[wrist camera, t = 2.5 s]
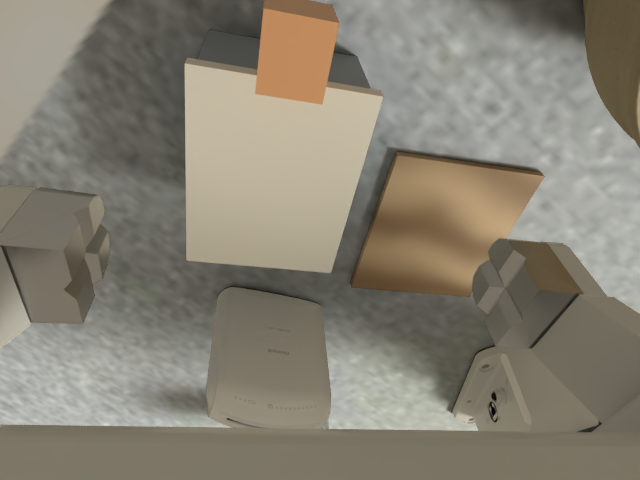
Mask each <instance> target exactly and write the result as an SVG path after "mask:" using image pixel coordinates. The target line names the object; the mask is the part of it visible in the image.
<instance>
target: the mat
mask: <svg viewBox="0 0 640 480" xmlns="http://www.w3.org/2000/svg"><path fill="white" fill-rule="evenodd" d="M544 177H545V176H544V175H543V174H542V173H541V172H536V171H529V170H522V169H516V168H509V167H502V166H495V165H488V164H481V163H474V162H467V161H460V160H453V159H446V158H439V157H432V156H425V155H418V154H411V153H404V152H397V151H396V153H395V156H394V159H393V162H392V165H391V167H390V170H389V173H388V176H387V179H386V182H385V185H384V188H383V191H382V193H381V196H380V199H379V202H378V205H377V208H376V211H375V214H374V216H373V219H372V222H371V225H370V228H369V231H368V234H367V237H366V240H365V242H364V245H363V248H362V251H361V254H360V257H359V260H358V263H357V265H356V268H355V271H354V274H353V277H352V280H351V287H354V288H366V289H379V290H391V291H404V292H416V293H429V294H441V295H453V296H466V297H470V295H471V293H472V281H473V276H474V274H475V272H476V270H477V269H478V267H479V265H481V264H483V263H484V262H486V261H487V260H489V254H488V250H489V249H490V247H491V245H492V244H493V243H494V242H495V241H496V240H498V239H499V238H503V239H506V237H507V236H508V234H509V233H510V231H511V229H512V228H513V226H514V225H515V223H516V221H517V220H518V218H519V217H520V215H521V213H522V212H523V210H524V209H525V207H526V205H527V204H528V202H529V201H530V199H531V197H532V196H533V194H534V193H535V191H536V189H537V188H538V186H539V185H540V183H541V181H542V180H543V178H544Z"/></svg>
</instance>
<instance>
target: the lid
mask: <svg viewBox="0 0 640 480" xmlns="http://www.w3.org/2000/svg"><path fill="white" fill-rule="evenodd" d="M338 27H339V21H338V18H337V16H336V13H335V11H334V8H333V6H332V5H330V4H325V3H320V2H315V1H310V0H264V8H263V18H262V29H261V39H260V49H259V59H258V69H252V68H246V67H240V66H234V65H228V64H222V63H216V62H210V61H204V60H199V59H193V58H187V60H186V62H185V163H186V261H196V262H208V263H219V264H231V265H243V266H254V267H266V268H277V269H289V270H301V271H312V272H324V273H331V271H332V268H333V265H334V261H335V258H336V254H337V251H338V248H339V244H340V241H341V238H342V234H343V231H344V228H345V224H346V221H347V218H348V214H349V211H350V208H351V204H352V201H353V197H354V194H355V191H356V187H357V184H358V181H359V177H360V174H361V171H362V167H363V164H364V161H365V157H366V154H367V151H368V147H369V144H370V141H371V137H372V134H373V130H374V127H375V124H376V120H377V117H378V114H379V110H380V107H381V104H382V100H383V97H384V96H383V94H382V92H381V90H375V89H369V88H363V87H358V86H352V85H346V84H340V83H334V82H328V76H329V71H330V66H331V61H332V56H333V52H334V47H335V42H336V37H337V32H338Z"/></svg>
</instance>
